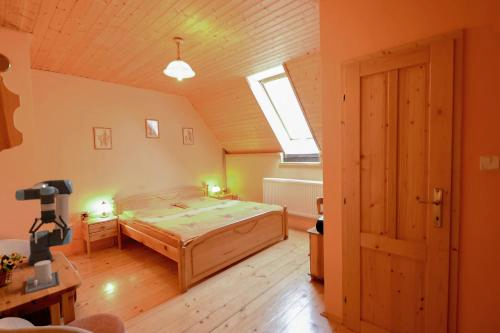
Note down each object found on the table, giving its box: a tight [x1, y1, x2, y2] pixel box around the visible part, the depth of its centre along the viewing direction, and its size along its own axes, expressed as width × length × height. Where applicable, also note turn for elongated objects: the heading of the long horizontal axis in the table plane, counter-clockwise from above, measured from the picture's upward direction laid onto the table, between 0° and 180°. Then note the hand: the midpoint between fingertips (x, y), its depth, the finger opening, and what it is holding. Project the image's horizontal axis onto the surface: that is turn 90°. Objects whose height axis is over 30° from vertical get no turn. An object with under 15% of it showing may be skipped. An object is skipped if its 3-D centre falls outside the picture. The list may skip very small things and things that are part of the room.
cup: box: [33, 260, 52, 284], centre depth 159 cm, size 8×8×12 cm
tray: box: [24, 269, 60, 295], centre depth 159 cm, size 22×16×5 cm
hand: (49, 240), depth 167 cm, fingers open, 13 cm apart
